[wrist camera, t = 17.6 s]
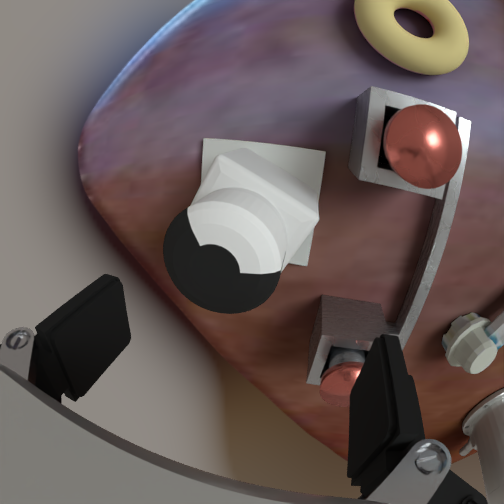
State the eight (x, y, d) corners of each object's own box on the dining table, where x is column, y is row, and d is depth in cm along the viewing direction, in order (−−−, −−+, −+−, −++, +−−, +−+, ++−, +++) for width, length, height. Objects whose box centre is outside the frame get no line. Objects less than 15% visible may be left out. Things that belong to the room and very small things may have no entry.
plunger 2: (411, 174, 20) (453, 197, 13) (358, 162, 21) (381, 178, 14) (420, 119, 18) (466, 118, 11) (366, 105, 19) (393, 94, 12)
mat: (307, 263, 26) (306, 266, 26) (201, 245, 28) (199, 247, 27) (325, 151, 22) (325, 151, 21) (206, 138, 23) (203, 138, 23)
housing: (390, 355, 28) (398, 395, 23) (308, 344, 30) (305, 386, 24) (460, 121, 18) (496, 122, 13) (357, 91, 19) (371, 78, 14)
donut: (439, 91, 19) (455, 12, 14) (465, 97, 15) (481, 7, 10) (339, 49, 19) (358, -35, 13) (353, 43, 15) (373, -52, 10)
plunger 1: (359, 348, 28) (365, 408, 21) (317, 342, 28) (313, 403, 21) (373, 313, 26) (385, 373, 19) (327, 306, 27) (328, 367, 19)
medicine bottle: (273, 258, 26) (242, 351, 15) (205, 215, 26) (131, 281, 15) (319, 192, 23) (324, 252, 12) (244, 145, 22) (180, 162, 12)
